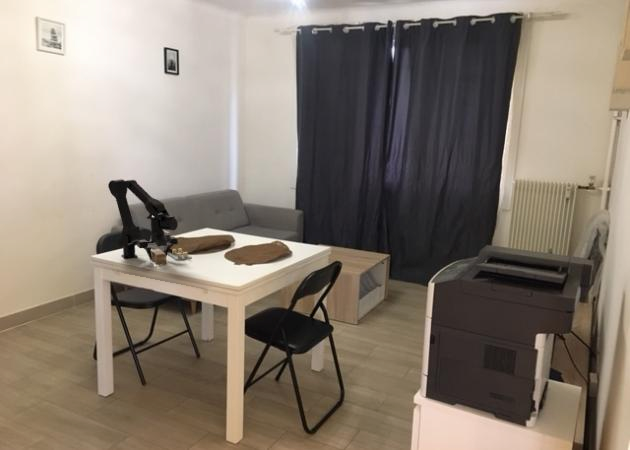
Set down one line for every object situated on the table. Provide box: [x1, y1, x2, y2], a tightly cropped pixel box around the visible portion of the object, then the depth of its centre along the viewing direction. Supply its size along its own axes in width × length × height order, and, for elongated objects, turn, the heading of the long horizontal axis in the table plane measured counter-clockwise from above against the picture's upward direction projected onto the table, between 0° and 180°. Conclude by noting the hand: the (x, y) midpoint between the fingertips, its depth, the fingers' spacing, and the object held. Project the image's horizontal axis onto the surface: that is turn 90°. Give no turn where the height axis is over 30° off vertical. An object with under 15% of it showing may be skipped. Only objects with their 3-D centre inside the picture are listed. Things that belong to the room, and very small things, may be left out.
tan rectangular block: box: [151, 248, 167, 266], centre depth 249 cm, size 12×4×5 cm, turn 33°
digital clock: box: [149, 229, 172, 252], centre depth 271 cm, size 16×9×11 cm, turn 35°
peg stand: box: [167, 248, 192, 261], centre depth 258 cm, size 12×8×3 cm, turn 34°
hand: (158, 259), depth 249 cm, fingers open, 7 cm apart
